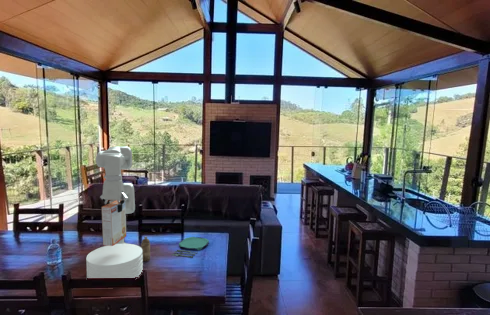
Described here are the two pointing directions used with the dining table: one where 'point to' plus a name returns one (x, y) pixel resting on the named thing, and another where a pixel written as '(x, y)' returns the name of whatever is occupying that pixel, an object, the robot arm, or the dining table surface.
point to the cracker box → (113, 223)
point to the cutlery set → (192, 245)
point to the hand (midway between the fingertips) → (114, 211)
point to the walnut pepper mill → (145, 249)
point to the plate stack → (115, 261)
